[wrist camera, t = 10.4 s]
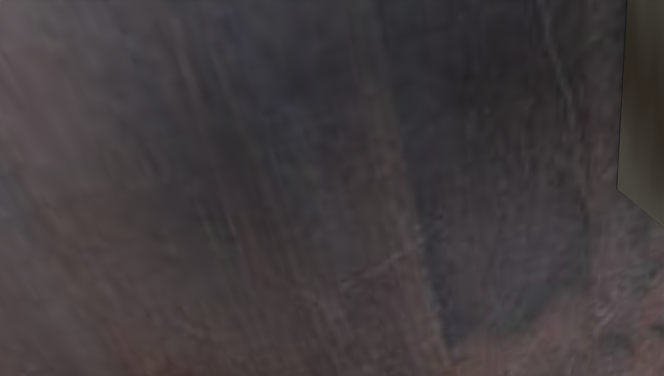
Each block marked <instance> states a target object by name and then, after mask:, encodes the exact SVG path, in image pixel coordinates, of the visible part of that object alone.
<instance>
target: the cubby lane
mask: <svg viewBox="0 0 664 376" xmlns="http://www.w3.org/2000/svg"><path fill="white" fill-rule="evenodd" d="M617 189H618V190H619V191H621V192H622V193H623V194H624V195H625V196H627V197H628V198H629V199H630V200H631V201H633V202H634V203H635V204H636V205H637V206H639V207H640V208H641V209H642V210H643V211H645V212H646V213H647V214H648V215H649V216H651V217H652V218H653V219H654V220H655V221H657V222H658V223H659V224H660V225H661V226H663V227H664V0H627V16H626V35H625V53H624V71H623V90H622V108H621V126H620V145H619V163H618V181H617Z"/></svg>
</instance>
